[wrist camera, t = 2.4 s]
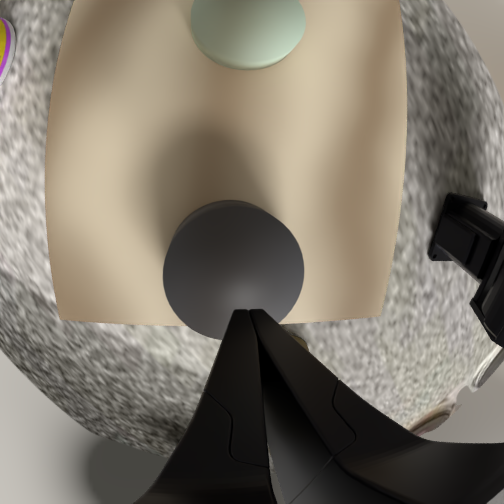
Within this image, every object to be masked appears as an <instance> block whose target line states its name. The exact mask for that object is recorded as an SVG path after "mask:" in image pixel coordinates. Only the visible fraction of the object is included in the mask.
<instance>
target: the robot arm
mask: <svg viewBox="0 0 504 504" xmlns="http://www.w3.org/2000/svg"><path fill="white" fill-rule="evenodd" d="M486 209H487V202H486V201H484V200H480V199H476V198H472V197H468V196H464V195H460V194H456V193H448V195H447V197H446V200H445V204H444V208H443V211H442V215H441V218H440V221H439V225H438V228H437V231H436V234H435V237H434V240H433V243H432V246H431V249H430V252H429V255H428V256H429V259H431V260H432V261H454V262H455V263H456V264H458V265H459V266H460V267H461V268H462V269H463V270H465V271H466V272H467V273H468V274H469V275H470V276H472V277H473V278H474V279H475V280H476V281H477V282H478V283H480V285H479V287H478V289H477V292H476V294H475V296H474V297H473V298H472V299H471V301H470V303H469V304H470V305H471V307H472V309H473V310H474V312H475V314H476V315H477V317H478V319H479V320H480V322H481V323H482V325H483V327H484V328H485V330H486V332H487V334H488V335H489V337H490V339H491V340H492V341H493V342H495V343H496V344H498V345H499V346H501V347H503V348H504V221H502V220H501V219H499V218H497V217H496V216H494V215H492V214H491V213H489V212H487V211H486ZM267 443H268V445H267ZM268 446H269V450H270V453H271V457H272V460H273V464H274V467H275V471H276V474H277V477H278V481H279V483H280V487H281V491H282V494H283V497H284V501H285V504H504V443H450V442H437V441H430V440H427V439H424V438H421V437H419V436H417V435H415V434H413V433H412V432H410V431H408V430H407V429H405V428H404V427H402V426H401V425H399V424H398V423H396V422H395V421H393V420H392V419H390V418H389V417H387V416H386V415H384V414H383V413H381V412H380V411H379V410H377V409H376V408H374V407H373V406H372V405H370V404H369V403H368V402H366V401H365V400H363V399H362V398H361V397H360V396H359V395H357V394H356V393H355V392H354V391H352V390H351V389H350V388H349V387H348V386H347V385H346V384H344V383H343V382H342V381H341V380H338V378H337V377H336V376H335V375H334V374H333V373H332V372H331V371H330V370H329V369H327V368H326V367H325V366H324V365H323V364H322V363H321V362H320V361H319V360H318V359H316V358H315V357H314V356H313V355H312V354H311V353H310V352H309V351H308V350H307V349H305V348H304V347H303V346H302V345H301V344H300V343H299V342H298V341H297V340H296V339H295V338H294V337H292V336H291V335H290V334H289V333H288V332H287V331H286V330H285V329H284V328H283V327H282V326H281V325H280V324H279V323H277V322H276V321H275V320H274V319H273V318H272V317H271V316H270V315H269V314H268V313H267V312H266V311H265V310H263V309H250V310H249V311H248V310H247V309H235V310H234V311H233V313H232V315H231V318H230V321H229V324H228V326H227V329H226V332H225V334H224V337H223V340H222V342H221V345H220V348H219V350H218V353H217V356H216V358H215V361H214V364H213V366H212V369H211V372H210V374H209V377H208V380H207V382H206V385H205V388H204V392H203V393H202V395H201V398H200V400H199V403H198V405H197V408H196V410H195V412H194V415H193V417H192V419H191V421H190V423H189V425H188V427H187V429H186V431H185V432H184V434H183V436H182V438H181V439H180V441H179V443H178V444H177V446H176V448H175V450H174V451H173V453H172V455H171V456H170V458H169V460H168V461H167V463H166V465H165V466H164V468H163V469H162V471H161V473H160V474H159V476H158V477H157V479H156V480H155V481H154V483H153V484H152V485H151V486H150V488H149V489H148V490H147V491H146V492H145V493H144V494H143V495H142V496H141V497H140V498H139V499H137V500H136V501H135V502H134V503H133V504H277V501H276V498H275V495H274V492H273V488H272V483H271V476H270V469H269V467H270V466H269V455H268Z"/></svg>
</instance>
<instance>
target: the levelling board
mask: <svg viewBox="0 0 504 504" xmlns="http://www.w3.org/2000/svg"><path fill="white" fill-rule="evenodd" d="M406 137H407V78H406V59H405V46H404V35H403V26H402V18H401V11H400V4H399V0H74V2H73V5H72V8H71V11H70V14H69V17H68V21H67V24H66V28H65V31H64V35H63V39H62V43H61V47H60V51H59V55H58V60H57V65H56V70H55V75H54V81H53V86H52V93H51V100H50V107H49V116H48V126H47V138H46V155H45V209H46V226H47V239H48V249H49V258H50V266H51V273H52V280H53V286H54V292H55V297H56V303H57V308H58V313H59V317H60V320H71V321H83V322H97V323H113V324H132V325H161V326H188V327H190V328H191V329H192V330H194V331H196V332H198V333H200V334H202V335H204V336H207V337H210V338H214V339H219V340H223V337H224V334H225V332H226V329H227V326H228V324H229V321H230V318H231V315H232V313H233V311H234V310H235V309H247V310H248V311H249V310H250V309H263V310H265V311H266V312H267V313H268V314H269V315H270V316H271V317H272V318H273V319H274V320H275V321H276V322H277V323H279V324H292V323H309V322H323V321H336V320H348V319H358V318H368V317H378V316H381V312H382V307H383V303H384V299H385V295H386V290H387V286H388V281H389V276H390V271H391V266H392V261H393V255H394V250H395V244H396V237H397V231H398V224H399V217H400V209H401V201H402V192H403V182H404V171H405V156H406Z"/></svg>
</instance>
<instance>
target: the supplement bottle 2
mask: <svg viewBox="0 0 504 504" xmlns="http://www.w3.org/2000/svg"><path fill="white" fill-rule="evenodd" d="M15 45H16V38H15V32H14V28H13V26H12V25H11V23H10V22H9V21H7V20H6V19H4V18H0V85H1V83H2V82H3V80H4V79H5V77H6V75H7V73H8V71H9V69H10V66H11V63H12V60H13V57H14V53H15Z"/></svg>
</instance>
